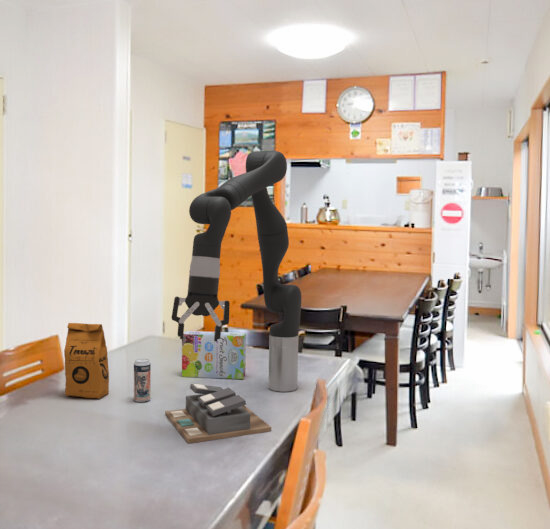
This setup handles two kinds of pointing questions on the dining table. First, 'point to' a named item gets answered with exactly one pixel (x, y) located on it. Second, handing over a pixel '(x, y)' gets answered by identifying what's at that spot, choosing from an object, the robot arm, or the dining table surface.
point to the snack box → (213, 355)
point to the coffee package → (86, 361)
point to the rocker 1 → (204, 389)
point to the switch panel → (205, 437)
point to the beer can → (142, 380)
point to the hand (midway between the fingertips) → (198, 340)
